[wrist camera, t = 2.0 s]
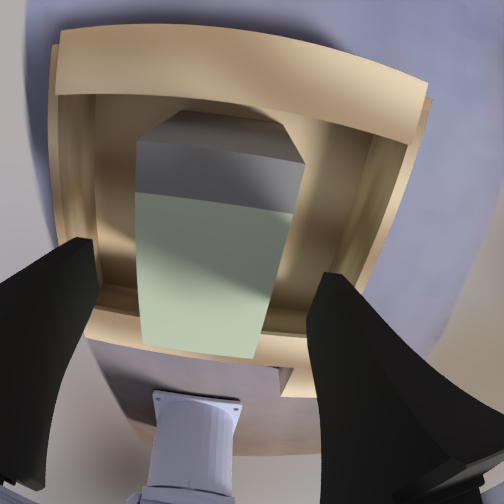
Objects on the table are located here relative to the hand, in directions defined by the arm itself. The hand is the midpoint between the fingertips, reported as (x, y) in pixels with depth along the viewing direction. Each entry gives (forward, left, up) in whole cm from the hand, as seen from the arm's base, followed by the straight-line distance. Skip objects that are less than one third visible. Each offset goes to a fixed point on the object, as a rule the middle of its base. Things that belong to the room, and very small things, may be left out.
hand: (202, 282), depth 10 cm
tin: (0, 0, -7) cm, 7 cm away
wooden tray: (0, 0, -7) cm, 7 cm away
